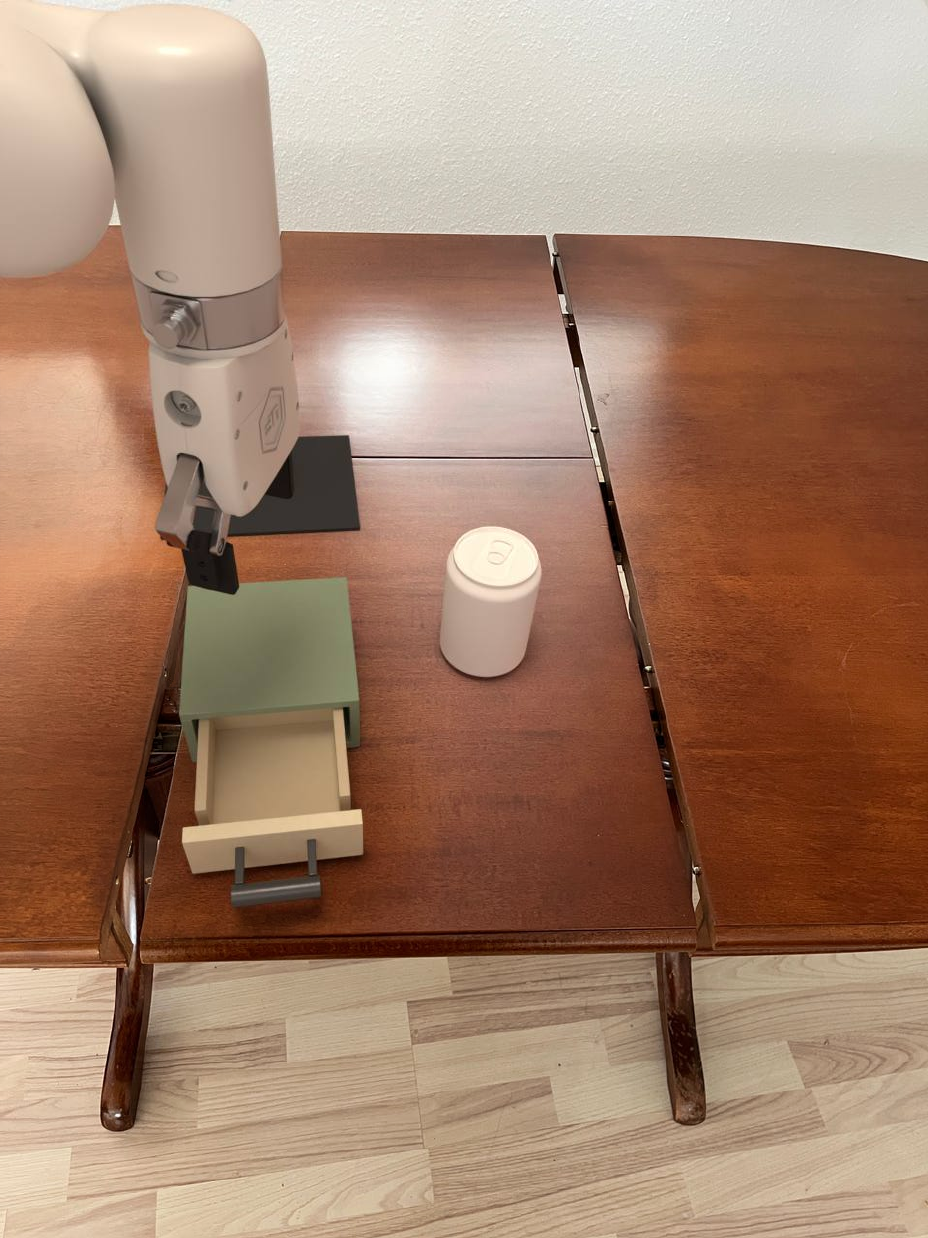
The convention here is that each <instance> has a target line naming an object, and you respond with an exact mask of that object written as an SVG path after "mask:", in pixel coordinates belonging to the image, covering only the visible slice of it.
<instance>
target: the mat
mask: <svg viewBox="0 0 928 1238" xmlns="http://www.w3.org/2000/svg"><path fill="white" fill-rule="evenodd" d="M291 451H292V464H293V477H294V490H295V492H294V494H293V496H292V498H291V499H282V498H278V497H273V496H269V495H263V497H262V498H261V500H260V501H259V503H258V504H257V505H256V507H255V508H254V509H253V510H252V511H250V512H249V513H248V514H246V515H244V516H242V517H239V516H236V515H231V517H230V523H229V529H228V534H227V537H245V536H246V537H248V536H263V535H264V536H266V535H268V536H269V535H284V534H285V535H288V534H289V535H290V534H307V533H308V534H309V533H325V532H326V533H328V532H348V531H349V532H350V531H360V530H361V523H360V515H359V506H358V498H357V491H356V482H355V475H354V464H353V457H352V449H351V441H350V435H349V434H345V435H340V434H339V435H312V436H311V435H310V436H309V435H308V436H305V435H304V436H298V439H297V441H296V443H295V445H294V447H293V448H292V450H291ZM167 489H168V486H167V483H166V482H165V489H164V497H163V499H164V498H165V495H166V492H167ZM198 495H201V496H206V497H210V498H213V496H212V495H211V493H210V492H209V490H208V488H207V487H206V484H204V483H202V485H201V488H200V491H199V494H198ZM214 514H215V510H211V509H207V508H202V507H198V506H196V509H195V515H194V521H193V528H194V529H196V530H200V531H205V532H209V533H211V532H212V526H213V520H214ZM159 536H160V535H159ZM160 540H161V541H162V540H163V541H165V540H164V539H163V538H162V537H161V536H160Z"/></svg>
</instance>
